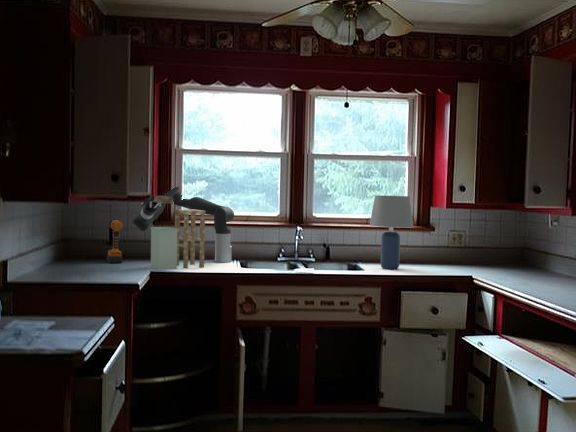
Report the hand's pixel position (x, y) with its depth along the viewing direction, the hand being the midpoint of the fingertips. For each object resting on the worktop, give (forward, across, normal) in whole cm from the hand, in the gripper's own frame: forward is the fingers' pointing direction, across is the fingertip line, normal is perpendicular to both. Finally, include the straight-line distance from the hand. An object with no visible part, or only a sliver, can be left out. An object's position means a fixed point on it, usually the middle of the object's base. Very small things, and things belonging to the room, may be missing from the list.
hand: (157, 196), depth 330 cm
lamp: (+34, -121, -65) cm, 141 cm away
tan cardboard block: (+5, 0, -7) cm, 8 cm away
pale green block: (-10, 0, -40) cm, 41 cm away
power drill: (-40, +18, -22) cm, 49 cm away
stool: (-10, -15, -40) cm, 44 cm away
